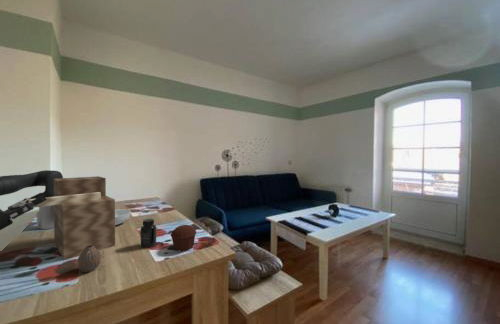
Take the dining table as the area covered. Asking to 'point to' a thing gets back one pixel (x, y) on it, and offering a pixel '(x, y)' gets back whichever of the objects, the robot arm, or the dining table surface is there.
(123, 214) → the serving bowl
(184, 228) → the muffin
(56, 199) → the birch rod
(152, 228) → the supplement bottle
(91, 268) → the brown egg-shaped lump
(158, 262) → the dining table surface
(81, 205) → the walnut stand
